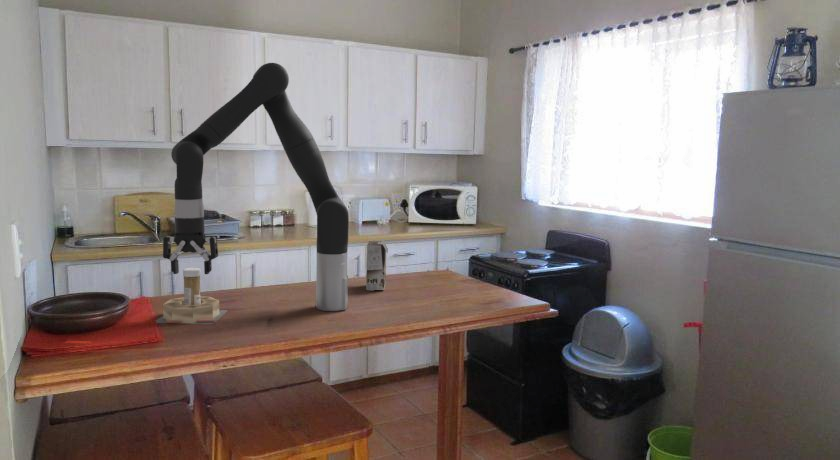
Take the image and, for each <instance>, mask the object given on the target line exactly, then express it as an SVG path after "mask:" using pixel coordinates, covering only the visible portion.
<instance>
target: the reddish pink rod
mask: <svg viewBox="0 0 840 460" xmlns="http://www.w3.org/2000/svg"><path fill="white" fill-rule="evenodd" d="M181 322H183V321H180V320H167V321H166V323H165V324H179V323H181ZM196 322H214V323H216V322H215V319H198V320H197V321H196Z"/></svg>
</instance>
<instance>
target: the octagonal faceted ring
mask: <svg viewBox="0 0 840 460" xmlns="http://www.w3.org/2000/svg"><path fill="white" fill-rule="evenodd" d="M219 310H220V300H219V299H216V298H214V297H211V296H202V295H201V304H198V305H184V296H183V297H177V298H171V299H169V300H167V301H165V303H163V304H162V316H163V318H164V319H166V320H180V321H183V322H181V323H198V322H196V321H197V320H198V319H214V318H215V317H217V316H218V315H219Z"/></svg>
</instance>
